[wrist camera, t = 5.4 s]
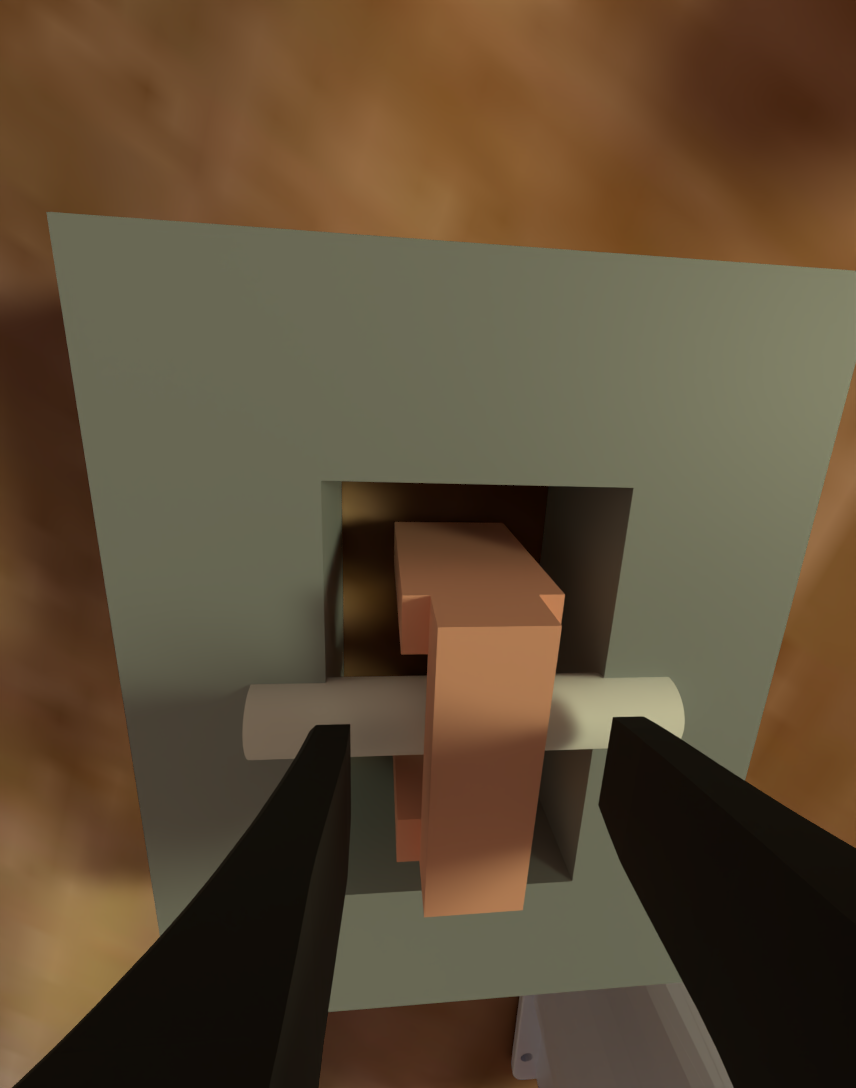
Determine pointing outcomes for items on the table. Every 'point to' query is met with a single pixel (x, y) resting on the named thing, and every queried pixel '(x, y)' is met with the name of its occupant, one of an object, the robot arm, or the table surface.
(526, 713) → the orange arch block
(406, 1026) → the table surface
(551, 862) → the grey panel with window
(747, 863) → the robot arm
